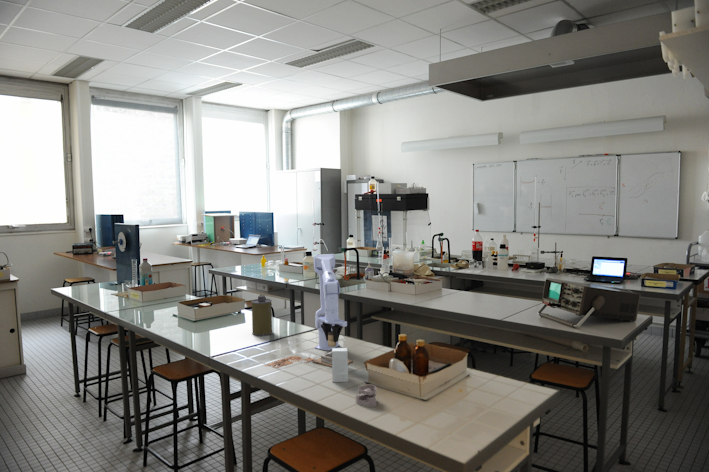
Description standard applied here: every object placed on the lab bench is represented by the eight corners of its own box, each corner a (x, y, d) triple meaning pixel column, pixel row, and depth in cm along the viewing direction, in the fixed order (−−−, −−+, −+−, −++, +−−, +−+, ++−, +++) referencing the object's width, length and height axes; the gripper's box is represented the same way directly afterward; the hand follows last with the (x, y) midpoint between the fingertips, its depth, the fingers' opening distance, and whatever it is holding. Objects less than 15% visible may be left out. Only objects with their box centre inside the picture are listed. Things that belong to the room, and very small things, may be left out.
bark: (297, 354, 212) (297, 353, 212) (315, 359, 204) (315, 358, 204) (258, 368, 196) (258, 366, 196) (276, 374, 188) (276, 373, 188)
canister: (270, 336, 242) (269, 297, 240) (250, 336, 242) (249, 297, 241) (274, 330, 253) (273, 293, 251) (255, 330, 253) (254, 293, 251)
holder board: (327, 356, 209) (327, 349, 208) (352, 361, 201) (352, 354, 200) (312, 362, 201) (312, 355, 200) (338, 368, 192) (338, 361, 192)
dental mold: (384, 402, 160) (383, 388, 159) (371, 409, 154) (371, 394, 154) (365, 396, 165) (365, 382, 164) (353, 402, 160) (352, 388, 159)
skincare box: (347, 377, 182) (347, 347, 182) (348, 381, 178) (347, 351, 177) (332, 378, 182) (331, 347, 181) (332, 382, 178) (331, 351, 177)
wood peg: (331, 343, 202) (331, 330, 202) (337, 345, 200) (337, 331, 200) (326, 346, 200) (326, 332, 199) (332, 347, 198) (332, 333, 197)
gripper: (312, 309, 200) (313, 340, 201) (339, 313, 192) (340, 346, 192) (323, 306, 206) (323, 336, 207) (349, 310, 197) (350, 341, 198)
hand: (332, 340), depth 200 cm, fingers closed on wood peg, 3 cm apart
